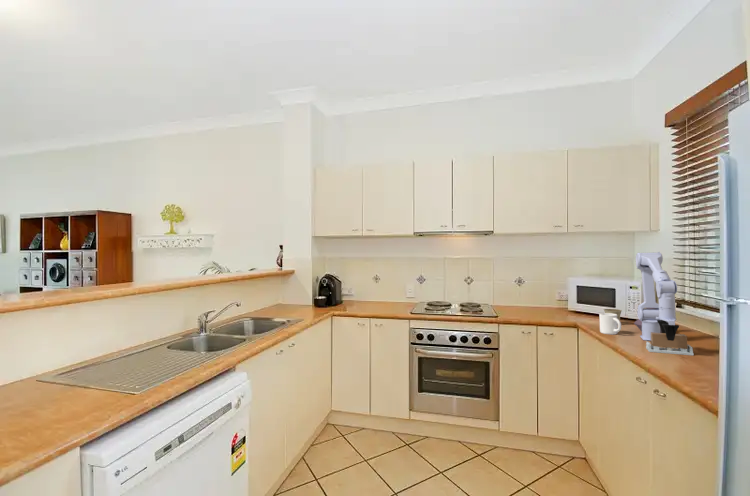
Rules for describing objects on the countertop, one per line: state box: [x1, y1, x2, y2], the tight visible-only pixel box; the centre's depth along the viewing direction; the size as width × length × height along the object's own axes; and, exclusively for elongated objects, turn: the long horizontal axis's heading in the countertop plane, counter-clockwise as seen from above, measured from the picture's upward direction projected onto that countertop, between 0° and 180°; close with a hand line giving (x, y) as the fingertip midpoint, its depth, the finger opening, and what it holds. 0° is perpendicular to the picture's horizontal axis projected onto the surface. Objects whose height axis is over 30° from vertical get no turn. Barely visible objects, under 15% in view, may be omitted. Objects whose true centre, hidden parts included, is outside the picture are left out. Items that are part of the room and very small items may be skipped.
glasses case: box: [650, 332, 688, 349], centre depth 158 cm, size 4×12×6 cm, turn 62°
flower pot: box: [603, 308, 623, 322], centre depth 219 cm, size 9×9×9 cm
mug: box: [598, 312, 622, 336], centre depth 194 cm, size 12×8×10 cm
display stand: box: [645, 341, 694, 356], centre depth 158 cm, size 7×15×3 cm, turn 62°
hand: (668, 338), depth 159 cm, fingers open, 7 cm apart
